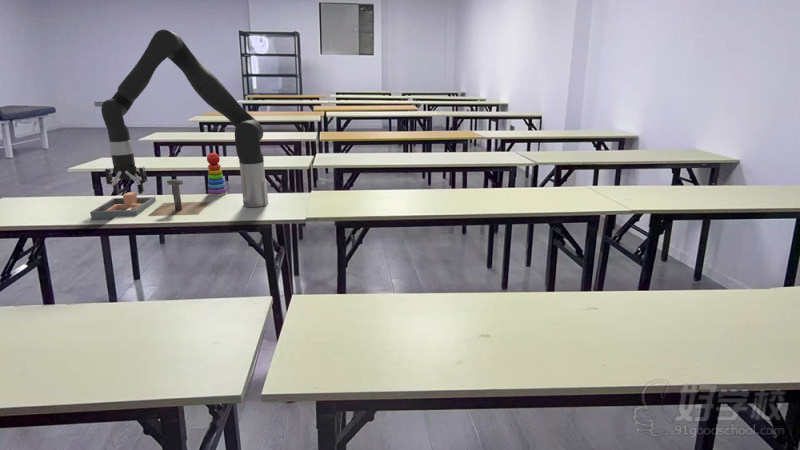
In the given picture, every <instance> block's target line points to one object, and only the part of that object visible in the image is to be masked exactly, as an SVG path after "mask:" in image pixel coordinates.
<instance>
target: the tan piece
mask: <svg viewBox="0 0 800 450" xmlns="http://www.w3.org/2000/svg"><path fill="white" fill-rule="evenodd" d="M137 197H138V196H137V191H130V192H129V191H128V192H126V193H125V194H123V195H122V198H123V199H124V204H115V205H113V206H112V207H110V208H108V209H107V210H105V211H121V210H117V209H127V210H135V209H137V208H138V207H140V206H141V205H142V204H143V203H138V201H137ZM129 208H130V209H129Z"/></svg>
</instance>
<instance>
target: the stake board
mask: <svg viewBox="0 0 800 450" xmlns="http://www.w3.org/2000/svg"><path fill="white" fill-rule="evenodd" d="M166 183H167V185H168V186H170V185H171V189H172V197H173V202H163V203H162V204H161V205H159V206H158V207H157V208H155V209H154V210H153V211H151V213H149V214H148V215H147V217H157V216H159V217H163V216H188V215H189V216H193V215H197V216H198V215H199V214H200V213H201V212H202V211H203V210H205V208H206V207H207V206H208V205H209V204H211V201H189V202H187V201H186V202H185V201H184V202H182V198H181V191H180V185H183V179H181V178H180V179H167V180H166Z"/></svg>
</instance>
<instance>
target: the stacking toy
mask: <svg viewBox="0 0 800 450" xmlns="http://www.w3.org/2000/svg"><path fill="white" fill-rule="evenodd" d="M220 160H221V157H220V156H219V154H218V153H216V152H210V153H209V154H208V155H207V156H206V162H207V163H208V165H207V169H208V171H207V173H208V174H207V179H208V180H207V182H208V183H207V187H208V189H207V192H208V193H207V195H208V196H209V197H221V196H225V195H228V192H227V190H228V188H227V186H226V183H225V179H224V175H223V170H222V168H221V164H220Z"/></svg>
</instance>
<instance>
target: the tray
mask: <svg viewBox="0 0 800 450" xmlns="http://www.w3.org/2000/svg"><path fill="white" fill-rule="evenodd" d="M137 201H138V203H137V204H142V205H141V206H140V207H138V208H137V209H135V210H130V209H117V210H121V211H105V210H107V209H108V208H110V207H112V206H113V205H115V204H124V199H123V197H113V198H111V199H110V200H108V201H106V202H104V203H102V204H101V205H100V206H98V207H96V208H95V209H93V210H91V211H90V212H89V213H90V217H91V218H90V219H91V221H102V220H105V221H106V220H114V219H116V218H117V217H133V216H134V217H135V216H138V215H140V214H141V213H142V212H144V211H145V210H146V209H148V208H149V207H151V206H152V205H153V204H155V202H157V200H156V196H145V197H144V196H143V197H141V196H140V197H138V196H137Z"/></svg>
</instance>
